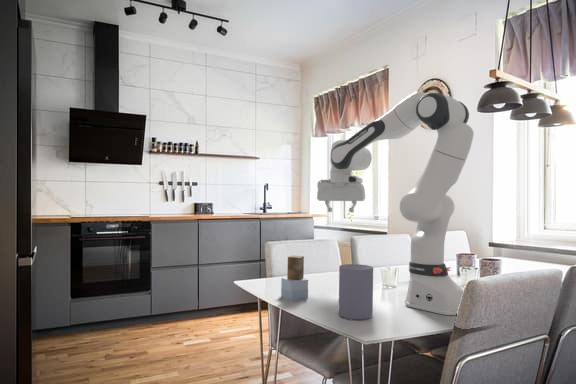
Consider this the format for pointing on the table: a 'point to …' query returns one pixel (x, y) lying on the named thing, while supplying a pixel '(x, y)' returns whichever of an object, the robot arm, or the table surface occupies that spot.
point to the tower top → (294, 284)
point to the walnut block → (295, 267)
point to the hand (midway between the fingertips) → (340, 212)
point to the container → (355, 291)
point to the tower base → (294, 294)
